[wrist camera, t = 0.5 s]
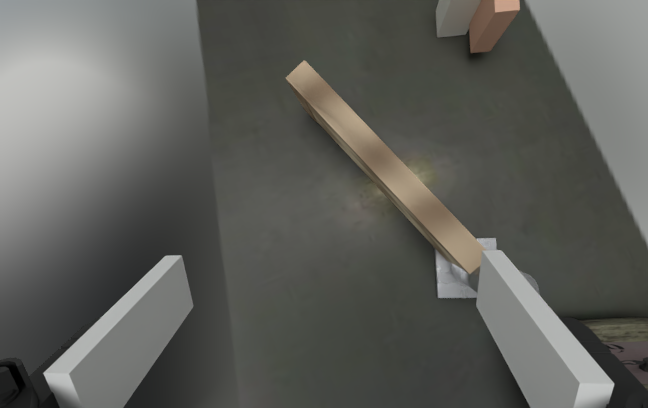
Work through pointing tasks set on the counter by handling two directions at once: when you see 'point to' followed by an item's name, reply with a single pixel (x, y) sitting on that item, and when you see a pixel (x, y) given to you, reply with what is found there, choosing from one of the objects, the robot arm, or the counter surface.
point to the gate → (385, 169)
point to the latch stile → (475, 20)
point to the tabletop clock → (625, 342)
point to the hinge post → (463, 276)
